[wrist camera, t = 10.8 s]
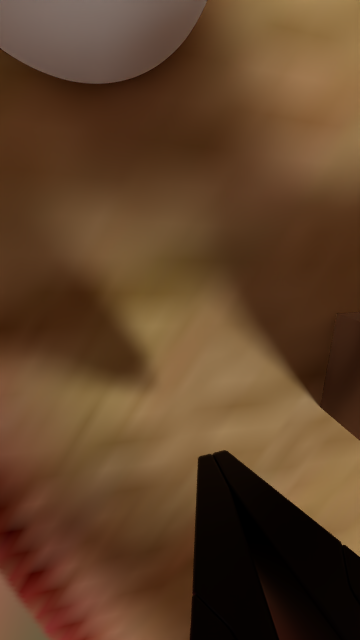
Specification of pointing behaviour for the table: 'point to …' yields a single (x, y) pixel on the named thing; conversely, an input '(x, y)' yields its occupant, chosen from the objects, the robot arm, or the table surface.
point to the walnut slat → (344, 374)
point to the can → (95, 35)
